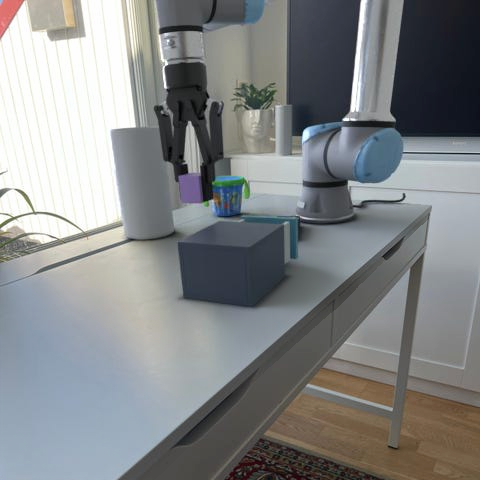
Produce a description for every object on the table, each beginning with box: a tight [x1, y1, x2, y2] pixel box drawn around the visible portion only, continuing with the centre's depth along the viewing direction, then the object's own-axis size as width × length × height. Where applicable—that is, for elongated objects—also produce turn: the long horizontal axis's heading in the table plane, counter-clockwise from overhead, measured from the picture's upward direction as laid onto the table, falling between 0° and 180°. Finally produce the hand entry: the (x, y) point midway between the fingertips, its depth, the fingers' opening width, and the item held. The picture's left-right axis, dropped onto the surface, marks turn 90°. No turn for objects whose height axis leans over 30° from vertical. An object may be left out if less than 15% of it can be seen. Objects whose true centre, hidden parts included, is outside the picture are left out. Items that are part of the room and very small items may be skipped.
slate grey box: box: [176, 220, 286, 308], centre depth 81 cm, size 15×13×10 cm
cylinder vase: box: [107, 125, 175, 241], centre depth 116 cm, size 12×12×25 cm
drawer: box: [236, 214, 299, 264], centre depth 91 cm, size 19×11×8 cm, turn 155°
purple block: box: [178, 172, 204, 204], centre depth 91 cm, size 4×4×5 cm
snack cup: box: [202, 175, 251, 217], centre depth 136 cm, size 16×10×10 cm
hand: (196, 199), depth 92 cm, fingers closed on purple block, 4 cm apart
